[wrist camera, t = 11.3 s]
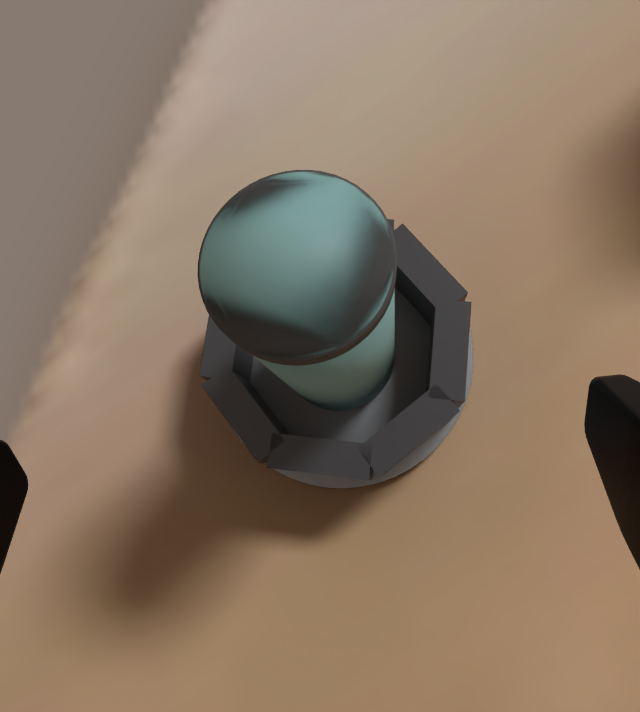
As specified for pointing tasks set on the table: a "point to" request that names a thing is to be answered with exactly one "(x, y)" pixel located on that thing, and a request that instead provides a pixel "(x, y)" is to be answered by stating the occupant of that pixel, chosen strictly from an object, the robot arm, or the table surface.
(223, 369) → the collar
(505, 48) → the table surface
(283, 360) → the plug
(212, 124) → the table surface
